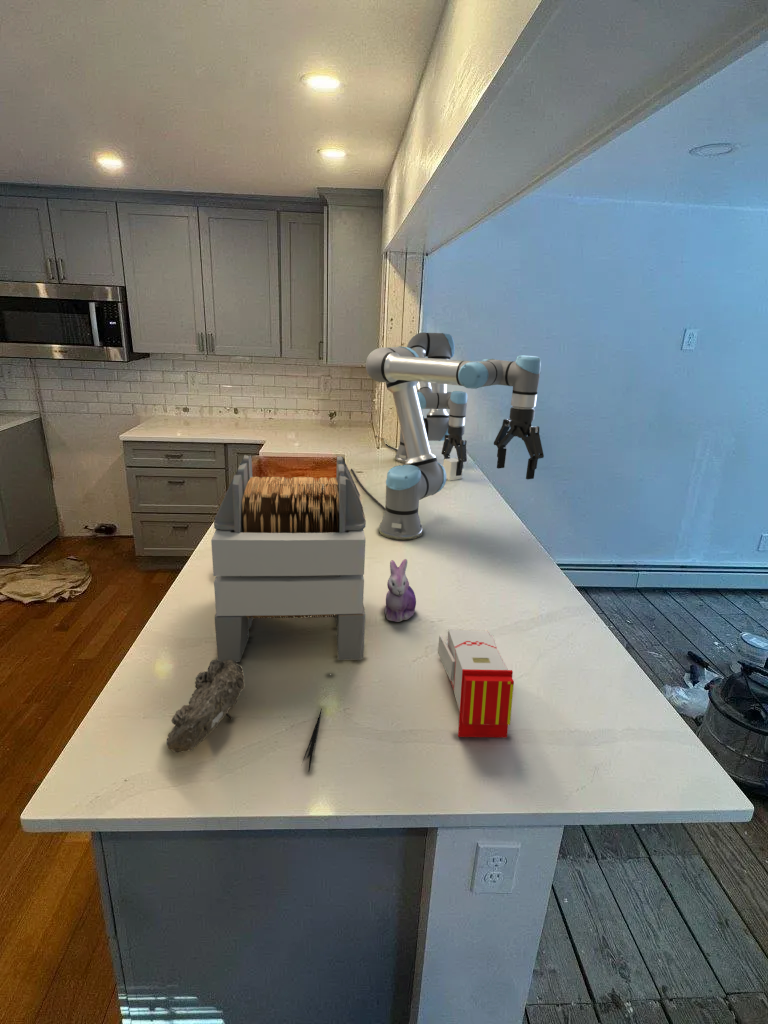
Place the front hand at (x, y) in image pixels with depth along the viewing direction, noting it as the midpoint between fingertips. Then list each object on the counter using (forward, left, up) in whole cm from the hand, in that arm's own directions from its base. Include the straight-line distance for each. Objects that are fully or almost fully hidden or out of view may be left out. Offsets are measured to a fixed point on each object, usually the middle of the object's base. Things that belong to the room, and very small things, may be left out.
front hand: (514, 473), depth 183 cm
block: (-68, +47, -26) cm, 87 cm away
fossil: (+19, -114, -26) cm, 118 cm away
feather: (+32, -98, -26) cm, 106 cm away
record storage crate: (-1, -83, -26) cm, 87 cm away
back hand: (-68, +47, -24) cm, 86 cm away
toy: (+44, -68, -26) cm, 85 cm away
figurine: (+11, -59, -26) cm, 65 cm away
